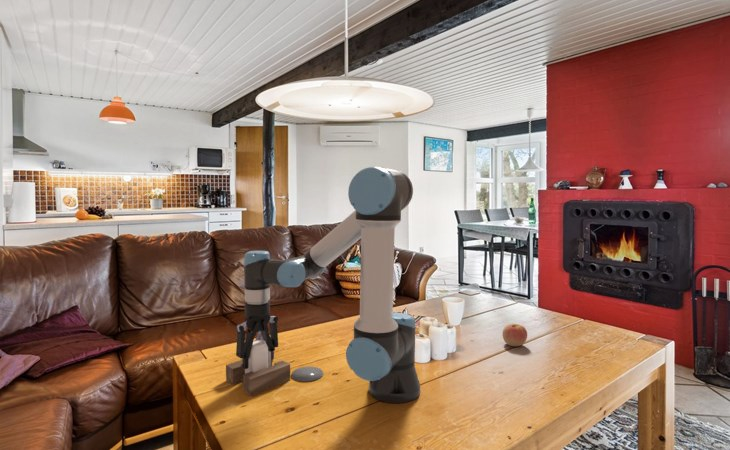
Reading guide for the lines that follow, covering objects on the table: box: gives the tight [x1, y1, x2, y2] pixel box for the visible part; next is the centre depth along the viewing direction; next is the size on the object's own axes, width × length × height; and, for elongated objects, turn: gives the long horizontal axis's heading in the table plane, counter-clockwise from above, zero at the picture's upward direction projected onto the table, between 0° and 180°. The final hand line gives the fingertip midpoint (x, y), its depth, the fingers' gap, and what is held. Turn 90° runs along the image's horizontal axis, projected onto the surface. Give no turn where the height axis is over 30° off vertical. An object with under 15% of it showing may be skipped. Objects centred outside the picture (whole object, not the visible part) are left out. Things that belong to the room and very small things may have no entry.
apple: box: [502, 323, 528, 347], centre depth 156 cm, size 9×9×8 cm
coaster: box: [291, 366, 324, 383], centre depth 129 cm, size 10×10×1 cm
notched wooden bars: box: [225, 359, 291, 397], centre depth 125 cm, size 14×14×5 cm
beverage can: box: [249, 339, 268, 372], centre depth 124 cm, size 6×6×12 cm
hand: (258, 374), depth 125 cm, fingers closed on beverage can, 6 cm apart
